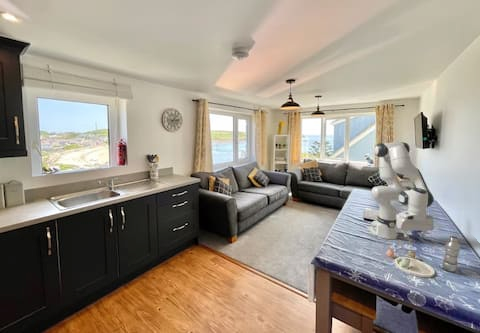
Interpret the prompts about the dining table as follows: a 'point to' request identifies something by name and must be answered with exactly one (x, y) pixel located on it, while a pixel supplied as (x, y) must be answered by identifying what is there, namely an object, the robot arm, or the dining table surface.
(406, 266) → the bead
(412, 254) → the bead
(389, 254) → the bead
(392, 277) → the dining table surface
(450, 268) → the silver metal bottle
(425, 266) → the tray
